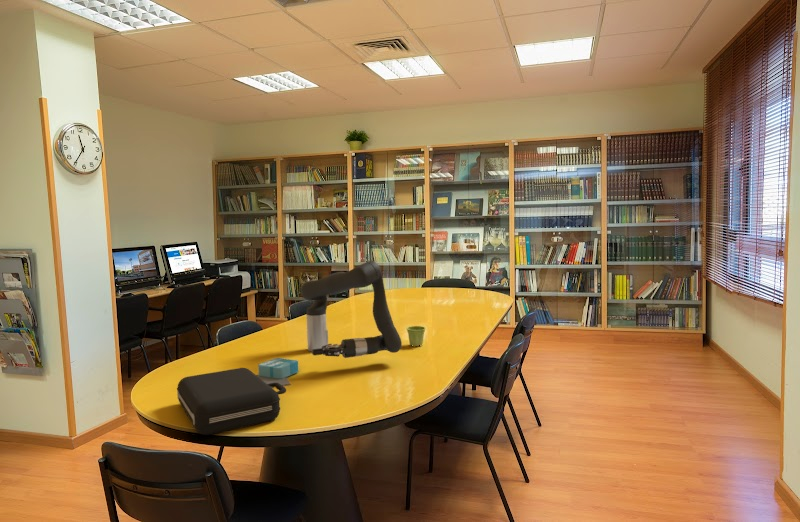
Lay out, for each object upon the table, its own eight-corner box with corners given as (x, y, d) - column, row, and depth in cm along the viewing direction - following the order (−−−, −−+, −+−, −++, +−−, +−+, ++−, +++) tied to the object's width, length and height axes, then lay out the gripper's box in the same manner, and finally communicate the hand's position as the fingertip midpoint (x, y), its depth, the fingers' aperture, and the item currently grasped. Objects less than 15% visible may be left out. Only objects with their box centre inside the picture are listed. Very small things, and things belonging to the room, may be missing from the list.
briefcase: (302, 417, 167) (301, 386, 166) (197, 441, 150) (195, 406, 150) (267, 387, 198) (265, 361, 197) (176, 405, 181) (174, 376, 180)
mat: (282, 372, 216) (281, 371, 216) (290, 384, 200) (290, 383, 200) (246, 377, 211) (246, 376, 211) (252, 390, 194) (252, 389, 194)
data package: (279, 368, 205) (256, 364, 210) (280, 379, 205) (257, 375, 211) (299, 360, 215) (277, 357, 221) (300, 371, 216) (277, 368, 221)
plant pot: (429, 344, 259) (428, 326, 258) (421, 348, 251) (421, 330, 250) (411, 342, 263) (411, 325, 262) (403, 347, 255) (403, 329, 254)
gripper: (349, 335, 224) (308, 339, 217) (359, 342, 212) (316, 346, 205) (349, 352, 225) (309, 357, 218) (359, 360, 212) (316, 365, 206)
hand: (312, 352), depth 212 cm, fingers closed
